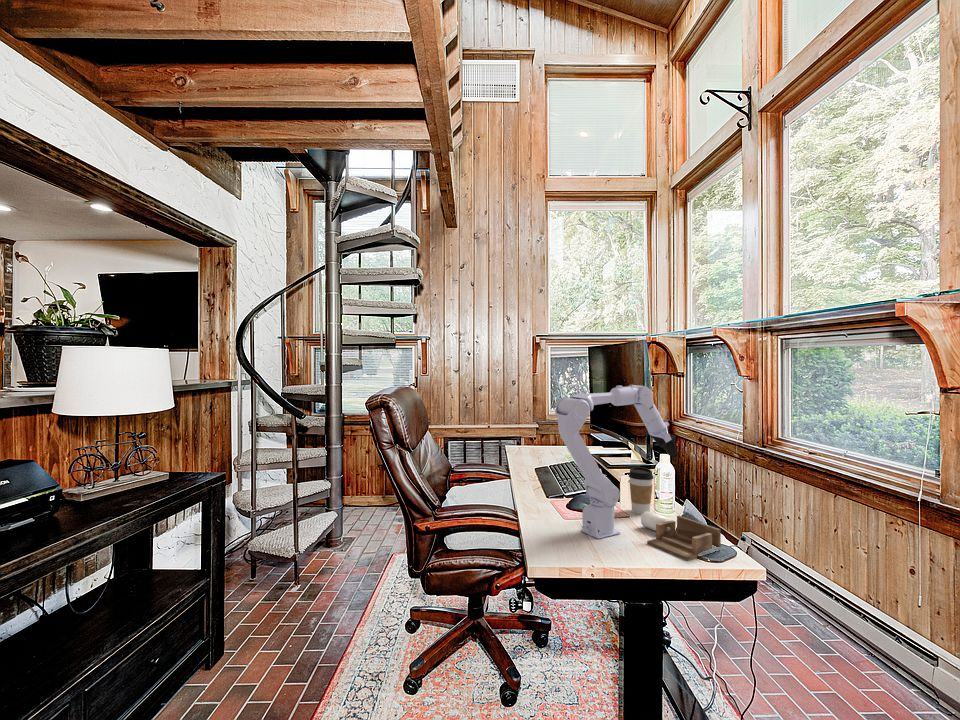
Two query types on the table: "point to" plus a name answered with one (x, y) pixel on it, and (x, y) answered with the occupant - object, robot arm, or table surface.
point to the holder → (685, 537)
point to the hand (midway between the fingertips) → (668, 450)
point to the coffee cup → (640, 489)
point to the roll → (652, 520)
